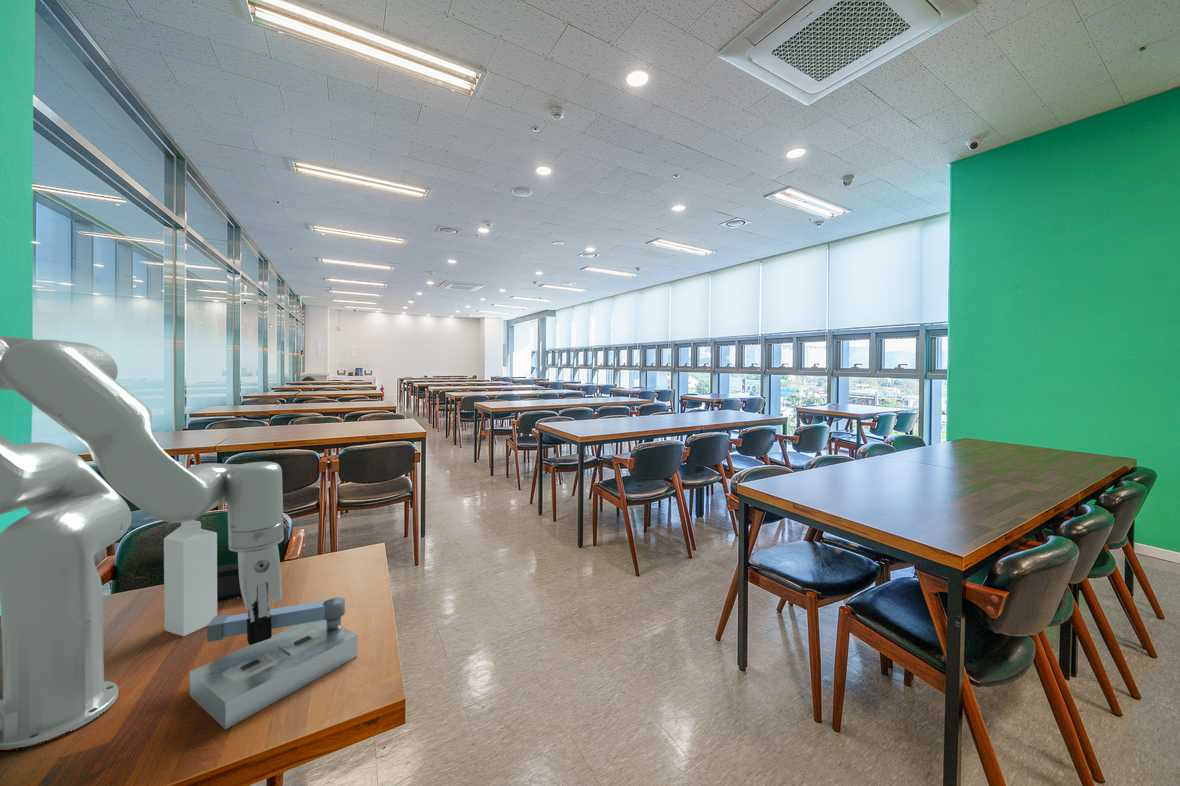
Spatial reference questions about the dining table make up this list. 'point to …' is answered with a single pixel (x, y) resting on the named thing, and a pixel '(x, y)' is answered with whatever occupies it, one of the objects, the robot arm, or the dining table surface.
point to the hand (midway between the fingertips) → (259, 639)
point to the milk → (190, 578)
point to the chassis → (270, 669)
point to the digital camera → (228, 582)
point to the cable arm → (277, 618)
